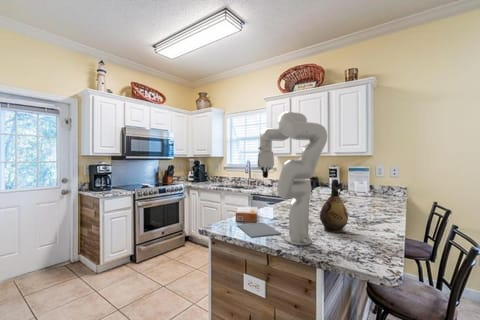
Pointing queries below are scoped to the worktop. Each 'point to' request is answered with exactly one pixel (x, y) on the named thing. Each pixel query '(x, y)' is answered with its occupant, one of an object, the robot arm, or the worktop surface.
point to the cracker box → (246, 214)
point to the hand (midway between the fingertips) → (265, 177)
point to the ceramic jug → (334, 211)
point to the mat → (258, 230)
